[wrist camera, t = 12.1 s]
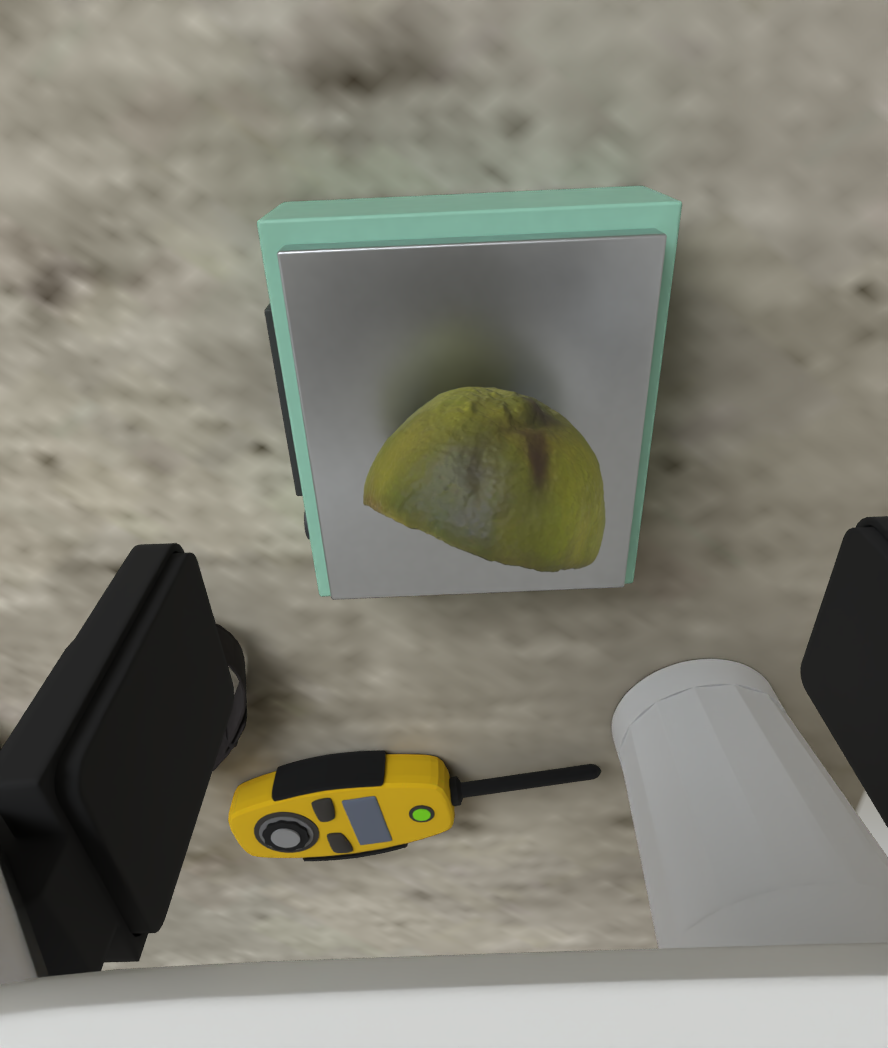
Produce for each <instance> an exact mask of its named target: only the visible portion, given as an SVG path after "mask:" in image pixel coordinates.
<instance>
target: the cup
mask: <svg viewBox="0 0 888 1048" xmlns="http://www.w3.org/2000/svg"><path fill="white" fill-rule="evenodd" d="M612 736H613V740H614V743H615V747H616V750H617V753H618V757H619V760H620V764H621V767H622V769H623V773H624V778H625V783H626V788H627V793H628V798H629V803H630V808H631V813H632V818H633V823H634V828H635V833H636V838H637V843H638V848H639V853H640V858H641V863H642V868H643V873H644V878H645V883H646V888H647V893H648V898H649V903H650V908H651V914H652V919H653V924H654V929H655V934H656V939H657V944H658V949H661V948H695V947H730V946H765V945H805V944H846V943H887V942H888V857H887V856H886V854H885V853H884V851H883V850H882V848H881V847H880V846H879V844H878V843H877V841H876V840H875V838H874V837H873V836H872V834H871V833H870V831H869V830H868V829H867V827H866V826H865V824H864V823H863V822H862V820H861V819H860V817H859V816H858V814H857V813H856V811H855V810H854V809H853V807H852V806H851V804H850V803H849V801H848V800H847V799H846V797H845V796H844V794H843V793H842V792H841V790H840V789H839V787H838V786H837V784H836V783H835V782H834V780H833V779H832V777H831V776H830V774H829V773H828V772H827V770H826V769H825V767H824V766H823V765H822V763H821V762H820V760H819V759H818V757H817V756H816V755H815V753H814V752H813V750H812V749H811V747H810V746H809V745H808V743H807V742H806V740H805V739H804V738H803V736H802V735H801V733H800V732H799V730H798V729H797V728H796V726H795V725H794V723H793V722H792V720H791V719H790V718H789V716H788V715H787V713H786V711H785V710H784V708H783V706H782V704H781V703H780V701H779V699H778V698H777V696H776V694H775V692H774V691H773V689H772V687H771V685H770V684H769V682H768V681H767V680H766V679H765V678H764V677H763V676H762V675H761V674H760V673H759V672H757V671H756V670H754V669H752V668H750V667H748V666H746V665H744V664H741V663H738V662H734V661H729V660H723V659H698V660H691V661H686V662H681V663H677V664H674V665H671V666H668V667H666V668H663V669H661V670H659V671H656V672H654V673H653V674H651V675H649V676H647V677H646V678H644V679H643V680H641V681H640V682H639V683H637V684H636V685H635V686H634V687H633V688H631V689H630V690H629V691H628V692H627V694H626V695H625V696H624V697H623V698H622V700H621V701H620V703H619V704H618V706H617V708H616V710H615V713H614V716H613V719H612Z"/></svg>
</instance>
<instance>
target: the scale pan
mask: <svg viewBox="0 0 888 1048" xmlns="http://www.w3.org/2000/svg"><path fill="white" fill-rule="evenodd" d="M666 239H667V236H666V234H665V233H663V232H661V231H659V230H658V229H656V228H648V229H626V230H604V231H581V232H559V233H537V234H515V235H493V236H471V237H449V238H427V239H404V240H382V241H360V242H338V243H316V244H294V245H284V246H283V247H282V248H281V249H280V250H279V251H278V253H277V257H278V263H279V270H280V276H281V282H282V289H283V295H284V302H285V308H286V314H287V321H288V327H289V333H290V340H291V346H292V352H293V359H294V365H295V371H296V378H297V384H298V390H299V397H300V403H301V409H302V416H303V422H304V429H305V435H306V441H307V448H308V454H309V460H310V467H311V473H312V479H313V486H314V492H315V498H316V505H317V511H318V517H319V524H320V530H321V537H322V543H323V549H324V556H325V562H326V568H327V575H328V581H329V587H330V594H331V598H332V599H333V600H334V599H357V598H380V597H404V596H427V595H450V594H474V593H497V592H521V591H544V590H567V589H591V588H614V587H624V584H625V576H626V567H627V559H628V551H629V543H630V535H631V526H632V518H633V510H634V502H635V493H636V485H637V477H638V469H639V461H640V452H641V444H642V436H643V428H644V420H645V411H646V403H647V395H648V387H649V379H650V370H651V362H652V354H653V346H654V337H655V329H656V321H657V313H658V305H659V296H660V288H661V280H662V272H663V264H664V255H665V247H666ZM461 387H483V388H489V387H490V388H493V387H496V388H497V389H502V390H508V391H514V392H516V393H518V394H521V395H525V396H529V397H533V398H535V399H537V400H538V401H540V402H542V403H543V404H545V405H547V406H548V407H550V408H551V409H553V410H555V411H557V412H558V413H560V414H561V415H562V416H564V417H565V418H566V419H567V420H568V421H569V422H570V423H571V424H572V425H573V426H574V427H575V428H576V429H577V430H578V431H579V432H580V433H581V434H582V436H583V437H584V438H585V440H586V441H587V443H588V444H589V445H590V447H591V449H592V450H593V452H594V453H595V455H596V457H597V459H598V462H599V464H600V471H601V476H602V480H603V490H604V502H605V518H606V521H605V529H604V534H603V539H602V542H601V547H600V550H599V553H598V555H597V557H596V559H595V560H594V562H593V563H592V564H590V565H588V566H586V567H583V568H580V569H568V570H559V571H558V572H540V571H536V570H534V569H527V568H523V567H520V566H509V565H503V564H501V563H498V562H496V561H493V562H490V561H487V560H485V559H483V558H481V557H478V556H475V555H473V554H471V553H468V552H465V551H463V550H460V549H457V548H455V547H451V546H450V545H448V544H446V543H444V542H443V541H441V540H438V539H436V538H435V537H434V536H431V535H429V534H426V533H424V532H422V531H420V530H415V529H410V528H408V527H406V526H405V525H403V524H401V523H398V522H396V521H394V520H393V519H392V518H388V517H386V516H385V515H382V514H380V513H378V512H376V511H374V510H373V509H372V508H370V507H369V506H365V505H364V504H363V494H364V485H365V481H366V478H367V475H368V472H369V470H370V467H371V466H372V463H373V461H374V460H375V457H376V456H377V454H378V453H379V451H380V449H381V448H382V446H383V445H384V443H385V442H386V440H387V439H388V437H390V436H391V435H392V434H393V433H394V432H395V431H396V430H397V429H398V428H399V427H400V426H401V425H402V424H403V423H404V422H405V421H406V420H407V419H408V418H409V417H410V416H411V415H412V414H413V413H414V412H416V411H417V410H418V409H419V408H420V407H422V406H423V405H424V404H426V403H427V402H429V401H430V400H432V399H433V398H434V397H436V396H437V395H439V394H441V393H444V392H447V391H450V390H453V389H457V388H461Z"/></svg>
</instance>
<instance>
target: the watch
mask: <svg viewBox="0 0 888 1048" xmlns="http://www.w3.org/2000/svg"><path fill="white" fill-rule="evenodd" d="M216 627H217V630H218V634H219V637H220V641H221V644H222V648H223V651H224V655H225V658H226V662H227V665H228V666H229V667H230V668H231V670H232V671H233V672H234V673H235V675H236V676H237V678H238V680H239V685H238V687H237V690H236V692H235V695H234V701H233V707H232V711H231V714H230V717H229V721H228V724H227V727H226V730H225V733H224V736H223V739H222V742H221V746H220V749H219V752H218V755H217V758H216V761H215V764H214V767H213V771H214V770H215V769H216V768H217V767H218V765H219V764H220V763H221V762H222V761H223V760H224V759H225V758H226V757H227V756H228V755H229V753H230V752H231V750H232V749H233V748H234V747H235V746H236V745H237V743H238V739H239V738H240V736H241V734H242V732H243V730H244V728H245V725H246V719H247V705H246V703H247V699H246V672H245V660H244V655H243V651H242V648H241V646H240V644H239V643H238V641H237V640H236V639H235V638H234V636H233V635H232V634H231V633H230V632H228V631H227V630H226V629H224V628H223V627H222V626H220V625H218V624H216Z"/></svg>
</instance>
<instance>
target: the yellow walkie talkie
mask: <svg viewBox="0 0 888 1048" xmlns="http://www.w3.org/2000/svg"><path fill="white" fill-rule="evenodd" d="M600 773H601V769H600V768H599V767H598V766H596V765H594V764H587V765H580V766H573V767H566V768H559V769H553V770H546V771H539V772H532V773H525V774H518V775H511V776H504V777H497V778H490V779H483V780H476V781H469V782H462V783H461V782H460V780H459V779H458V778H457V776H456V777H450V776H449V772H448V770H447V768H446V766H445V764H444V763H443V761H442V760H440V759H439V758H438V757H435V756H431V755H416V754H386V753H385V751H359V752H348V753H338V754H330V755H324V756H319V757H314V758H309V759H305V760H300V761H297V762H293V763H290V764H286V765H283V766H280V767H278V769H277V771H275V772H272V773H269V774H265V775H262V776H259V777H257V778H254V779H251V780H249V781H246V782H244V783H242V784H241V785H239V786H238V787H237V789H236V791H235V793H234V796H233V800H232V804H231V807H230V811H229V818H228V821H229V825H230V828H231V831H232V833H233V834H234V836H235V838H236V839H237V841H238V843H239V844H240V845H241V847H242V848H243V849H244V850H245V851H246V852H247V853H249V854H251V855H252V856H257V857H268V858H303V860H304V861H328V860H340V859H350V858H359V857H364V856H370V855H376V854H381V853H385V852H390V851H394V850H398V849H401V848H405V847H407V845H408V843H410V842H414V841H417V840H421V839H424V838H427V837H431V836H434V835H437V834H439V833H442V832H445V831H447V830H449V829H450V828H451V827H452V825H453V823H454V817H455V813H454V806H458V805H461V802H462V799H463V798H465V797H472V796H479V795H486V794H493V793H500V792H507V791H514V790H521V789H528V788H535V787H542V786H549V785H556V784H563V783H570V782H577V781H584V780H591V779H595V778H597V777H598V776H599V775H600Z"/></svg>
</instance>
